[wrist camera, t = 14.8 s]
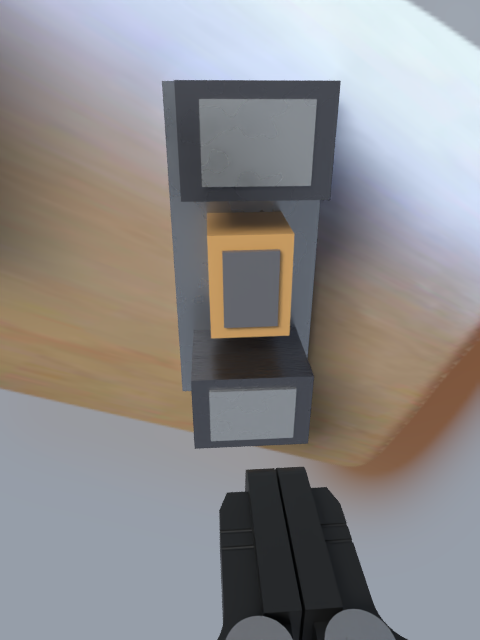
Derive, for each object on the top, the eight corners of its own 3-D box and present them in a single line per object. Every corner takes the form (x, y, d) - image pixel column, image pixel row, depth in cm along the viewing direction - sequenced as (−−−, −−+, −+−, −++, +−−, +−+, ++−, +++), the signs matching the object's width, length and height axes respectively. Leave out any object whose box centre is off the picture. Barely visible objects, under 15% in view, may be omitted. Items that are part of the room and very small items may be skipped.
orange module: (206, 213, 28) (207, 237, 23) (281, 211, 28) (295, 235, 23) (210, 303, 30) (211, 341, 26) (277, 301, 31) (290, 338, 26)
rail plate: (183, 375, 35) (178, 451, 28) (164, 81, 26) (149, 80, 19) (300, 371, 36) (324, 445, 28) (321, 81, 27) (365, 80, 19)
